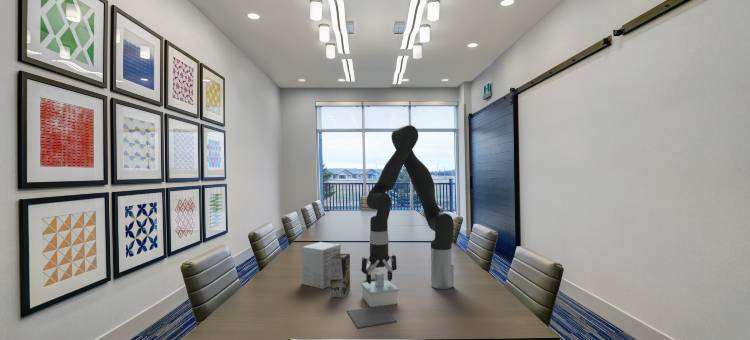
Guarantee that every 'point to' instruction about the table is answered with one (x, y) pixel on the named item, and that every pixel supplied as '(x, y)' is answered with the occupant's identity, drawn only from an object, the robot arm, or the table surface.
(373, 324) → the mat
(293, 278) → the table surface
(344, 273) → the coffee box
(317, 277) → the supplement box
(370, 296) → the dish
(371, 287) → the lid
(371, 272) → the geometric ball
